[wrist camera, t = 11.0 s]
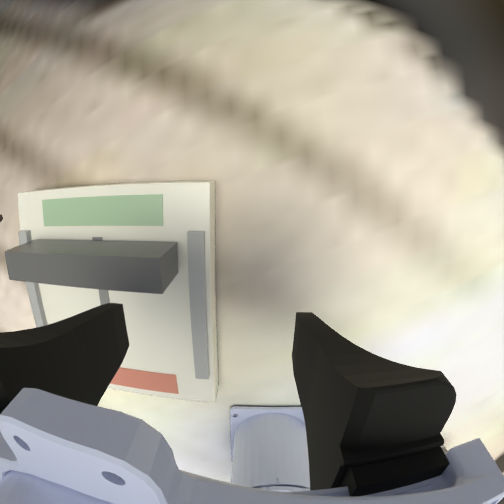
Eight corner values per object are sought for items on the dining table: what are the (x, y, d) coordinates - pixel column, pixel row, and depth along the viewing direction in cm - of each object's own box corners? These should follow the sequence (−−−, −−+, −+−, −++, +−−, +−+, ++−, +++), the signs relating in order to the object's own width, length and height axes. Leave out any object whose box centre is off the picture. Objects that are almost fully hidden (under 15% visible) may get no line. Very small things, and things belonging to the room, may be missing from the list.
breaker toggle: (178, 272, 19) (162, 294, 16) (37, 264, 19) (9, 279, 16) (177, 242, 19) (159, 258, 15) (34, 239, 19) (4, 251, 15)
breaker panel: (218, 383, 25) (214, 407, 22) (65, 361, 25) (51, 378, 22) (215, 181, 20) (208, 182, 17) (35, 190, 21) (13, 194, 18)
